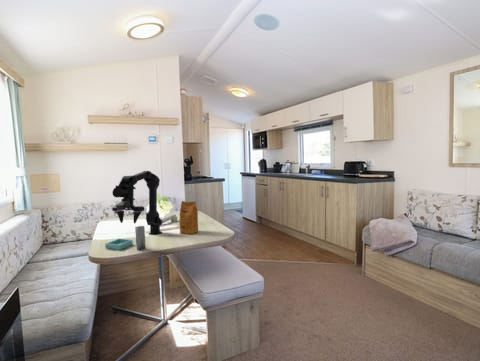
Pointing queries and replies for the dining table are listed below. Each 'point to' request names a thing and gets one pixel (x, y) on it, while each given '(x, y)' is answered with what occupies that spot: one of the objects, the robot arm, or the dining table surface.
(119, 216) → the robot arm
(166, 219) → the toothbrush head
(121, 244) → the tray
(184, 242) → the dining table surface
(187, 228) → the coffee package
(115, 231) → the dining table surface
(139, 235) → the block
